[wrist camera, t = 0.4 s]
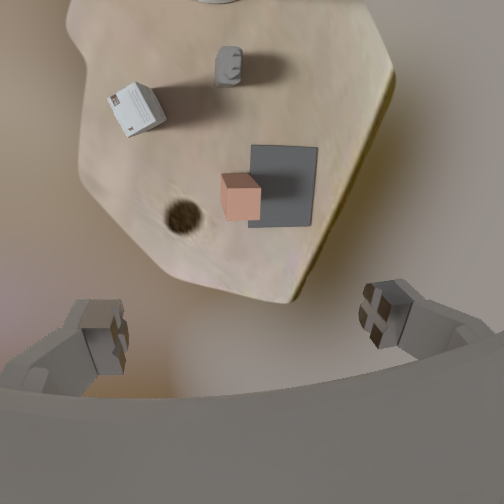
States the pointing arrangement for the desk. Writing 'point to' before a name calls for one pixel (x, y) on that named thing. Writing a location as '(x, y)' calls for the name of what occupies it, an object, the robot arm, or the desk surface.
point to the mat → (283, 184)
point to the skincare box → (136, 109)
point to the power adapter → (228, 66)
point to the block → (240, 197)
